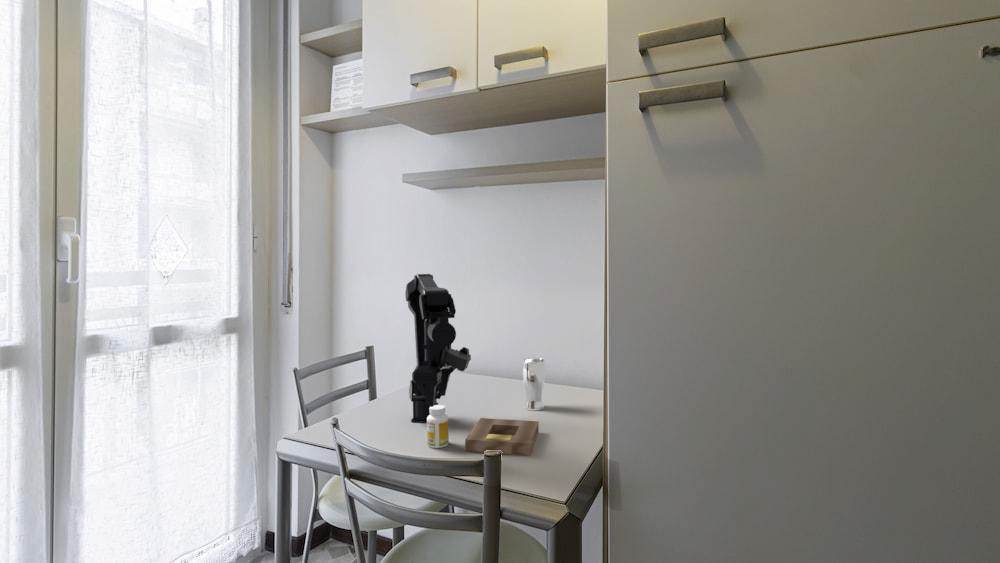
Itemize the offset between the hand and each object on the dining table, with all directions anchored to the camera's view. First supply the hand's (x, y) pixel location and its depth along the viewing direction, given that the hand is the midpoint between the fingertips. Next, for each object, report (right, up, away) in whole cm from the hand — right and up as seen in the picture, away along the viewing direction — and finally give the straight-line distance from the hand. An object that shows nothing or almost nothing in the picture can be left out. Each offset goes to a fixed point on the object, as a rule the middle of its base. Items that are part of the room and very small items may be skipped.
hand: (437, 400), depth 127 cm
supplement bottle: (0, -11, +1) cm, 12 cm away
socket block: (+17, -11, +2) cm, 20 cm away
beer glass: (+26, -9, +30) cm, 41 cm away
